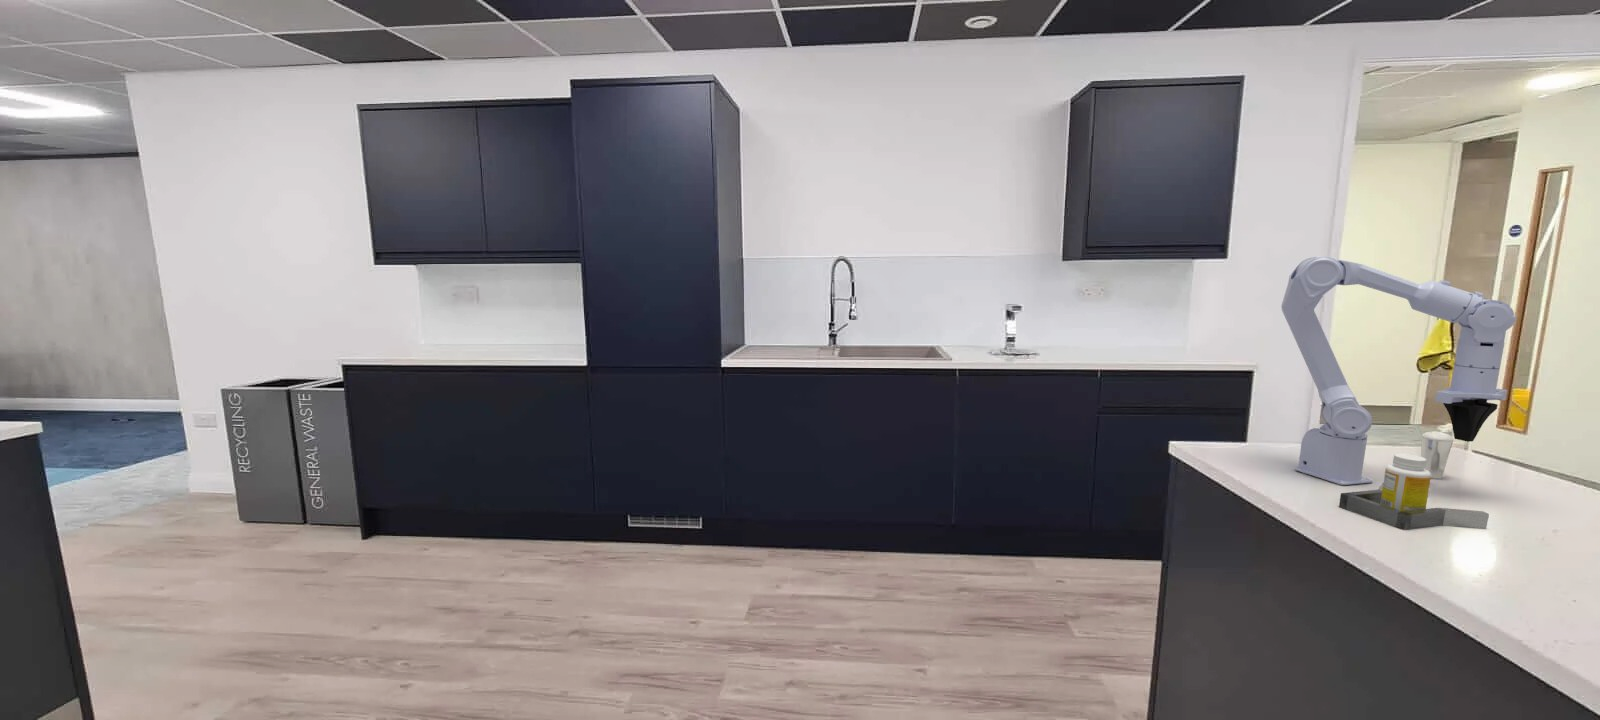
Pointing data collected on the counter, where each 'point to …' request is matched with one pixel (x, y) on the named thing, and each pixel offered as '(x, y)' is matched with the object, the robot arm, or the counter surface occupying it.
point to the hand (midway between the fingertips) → (1463, 440)
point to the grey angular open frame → (1409, 512)
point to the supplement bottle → (1406, 483)
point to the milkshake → (1436, 451)
